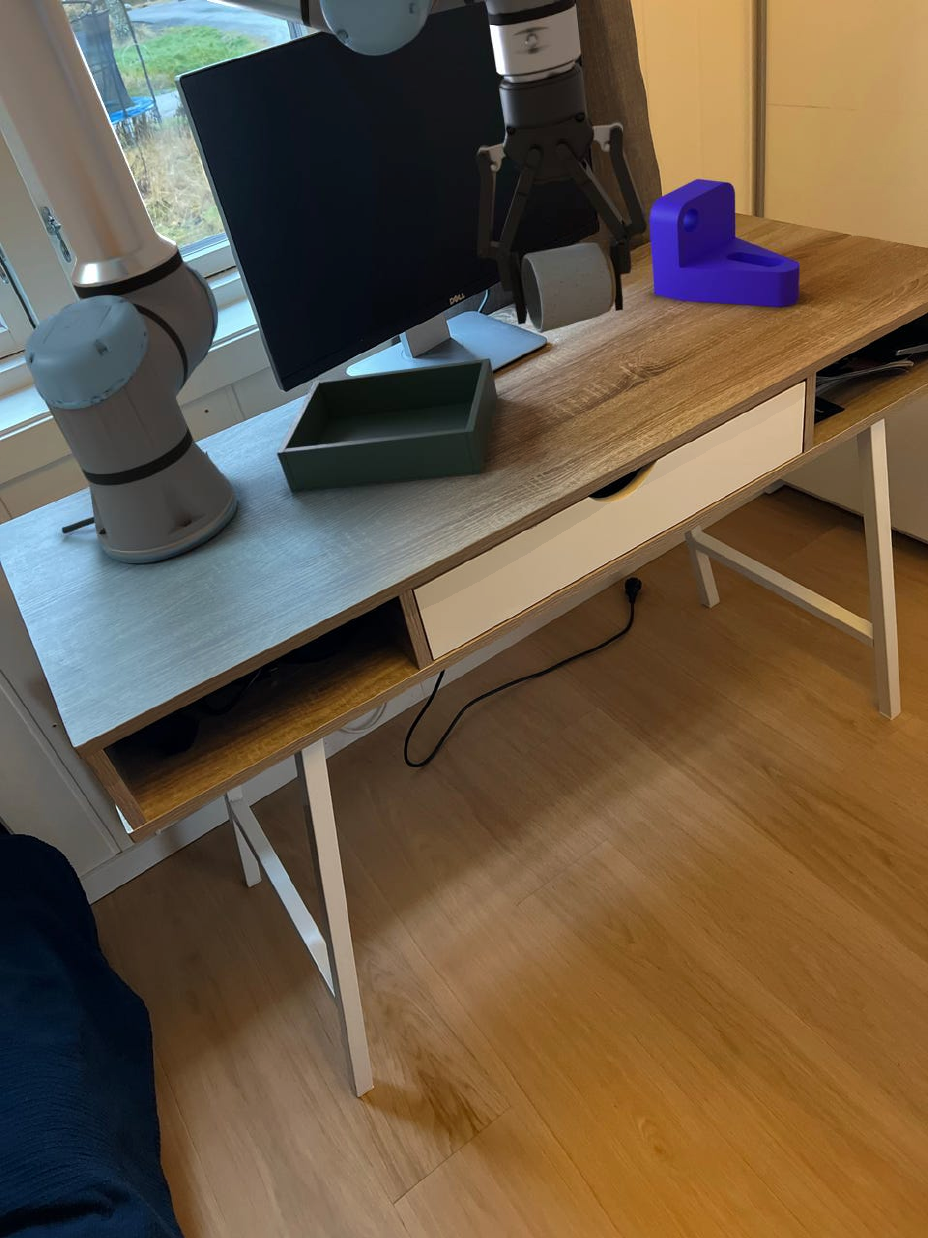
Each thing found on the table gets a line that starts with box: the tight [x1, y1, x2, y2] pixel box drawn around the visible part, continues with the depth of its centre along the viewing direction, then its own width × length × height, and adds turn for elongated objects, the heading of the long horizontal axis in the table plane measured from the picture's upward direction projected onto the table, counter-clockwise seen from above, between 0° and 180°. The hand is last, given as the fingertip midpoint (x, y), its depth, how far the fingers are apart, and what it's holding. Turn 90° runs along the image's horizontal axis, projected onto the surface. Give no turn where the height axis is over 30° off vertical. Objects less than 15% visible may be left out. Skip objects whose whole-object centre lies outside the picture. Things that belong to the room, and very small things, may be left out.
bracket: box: [649, 178, 801, 308], centre depth 116 cm, size 18×11×12 cm, turn 38°
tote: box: [276, 357, 498, 493], centre depth 105 cm, size 22×17×5 cm
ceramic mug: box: [520, 242, 616, 334], centre depth 95 cm, size 11×8×8 cm
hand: (570, 311), depth 97 cm, fingers closed on ceramic mug, 9 cm apart
